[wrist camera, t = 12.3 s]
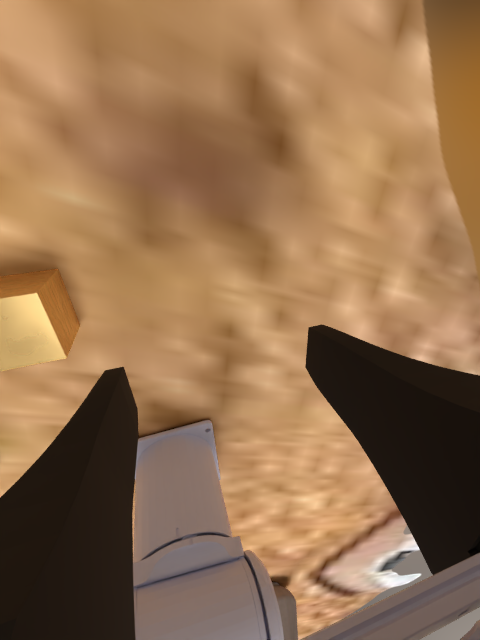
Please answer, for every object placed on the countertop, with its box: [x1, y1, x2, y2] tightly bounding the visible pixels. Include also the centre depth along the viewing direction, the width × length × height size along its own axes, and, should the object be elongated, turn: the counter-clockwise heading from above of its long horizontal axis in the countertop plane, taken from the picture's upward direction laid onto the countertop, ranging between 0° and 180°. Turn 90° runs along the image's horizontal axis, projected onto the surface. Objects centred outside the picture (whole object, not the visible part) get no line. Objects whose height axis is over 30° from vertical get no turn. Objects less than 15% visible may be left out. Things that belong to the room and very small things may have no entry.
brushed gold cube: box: [0, 269, 80, 372], centre depth 16 cm, size 4×4×4 cm
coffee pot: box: [272, 582, 298, 640], centre depth 44 cm, size 21×12×15 cm, turn 129°
